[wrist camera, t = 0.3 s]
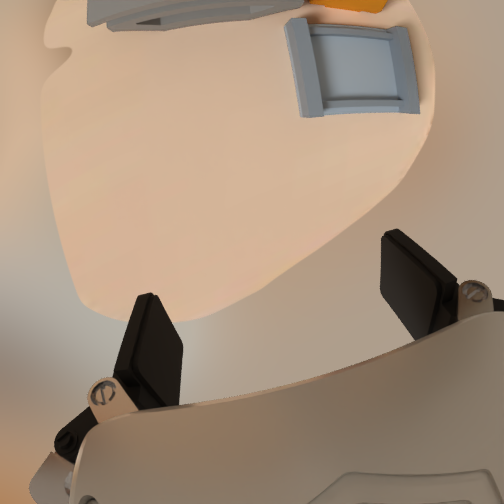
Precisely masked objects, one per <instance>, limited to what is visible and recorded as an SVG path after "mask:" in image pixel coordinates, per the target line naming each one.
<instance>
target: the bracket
mask: <svg viewBox="0 0 504 504" xmlns="http://www.w3.org/2000/svg"><path fill="white" fill-rule="evenodd" d="M309 2H310V4H318V5H325V7H330V8H337V9H344V10H351V11H357V12H360V11H365V12H370V13H375V14H376V13H378V12H380V11H382V9H383V7H384V6H385V4H386V2H387V0H309Z"/></svg>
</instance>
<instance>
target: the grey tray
mask: <svg viewBox="0 0 504 504" xmlns="http://www.w3.org/2000/svg"><path fill="white" fill-rule="evenodd" d="M284 31H285V35H286V40H287V45H288V50H289V54H290V60H291V65H292V70H293V76H294V81H295V87H296V93H297V99H298V105H299V111H300V117H306V118H312V117H323V116H324V115H334V114H350V113H383V112H398V113H409V114H420V106H419V96H418V88H417V80H416V73H415V67H414V61H413V55H412V50H411V45H410V40H409V36H408V31H407V28H404V27H398V26H395V27H392V28H389V29H387V30H384V29H377V28H369V27H360V26H348V25H331V24H307V20H306V18H291V19H290V20H289V21H288V22H287V24H286V25H285V26H284Z"/></svg>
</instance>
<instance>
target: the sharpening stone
mask: <svg viewBox="0 0 504 504" xmlns="http://www.w3.org/2000/svg"><path fill="white" fill-rule="evenodd" d="M303 3H304V0H88V3H87V24H88V25H89V26H91V27H94V26H97V25H100V24H102V23H105V22H107V28H108V29H109V30H111V31H112V32H117V31H167V30H172V29H177V28H183V27H189V26H195V25H202V24H210V23H219V22H229V21H244V20H251V19H255V18H258V17H262V16H266V15H270V14H274V13H278V12H282V11H287V10H291V9H296V8H300V7H301V5H302V4H303Z"/></svg>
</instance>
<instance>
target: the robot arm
mask: <svg viewBox="0 0 504 504" xmlns="http://www.w3.org/2000/svg"><path fill="white" fill-rule="evenodd" d="M380 291H381V294H382V296H383V298H384V299H385V300H386V301H387V303H388V304H389V305H390V307H391V308H392V309H393V311H394V312H395V313H396V315H397V316H398V318H399V319H400V320H401V322H402V323H403V324H404V326H405V327H406V329H407V330H408V331H409V333H410V334H411V336H412V337H413V338H414V340H415V341H413V342H411V343H409V344H407V345H404V346H402V347H399V348H397V349H394V350H392V351H390V352H387V353H384V354H382V355H379V356H377V357H374V358H371V359H368V360H366V361H363V362H360V363H357V364H354V365H351V366H348V367H346V368H342V369H339V370H336V371H333V372H330V373H327V374H323V375H320V376H317V377H313V378H310V379H307V380H303V381H299V382H296V383H292V384H288V385H284V386H280V387H276V388H272V389H267V390H263V391H258V392H254V393H249V394H244V395H239V396H234V397H229V398H223V399H217V400H211V401H204V402H199V403H192V404H184V405H179V397H180V383H181V370H182V357H183V343H182V341H181V339H180V337H179V335H178V333H177V331H176V330H175V328H174V326H173V324H172V322H171V320H170V318H169V316H168V315H167V313H166V311H165V309H164V307H163V305H162V303H161V301H160V299H159V297H158V296H157V295H153V294H152V293H147V294H142V295H139V296H138V297H137V299H136V302H135V305H134V308H133V311H132V314H131V317H130V320H129V323H128V326H127V329H126V332H125V335H124V338H123V341H122V345H121V347H120V351H119V354H118V357H117V361H116V364H115V368H114V373H113V377H106V378H102V379H100V380H98V381H97V382H95V383H94V384H93V385H92V387H91V388H90V390H89V392H88V396H87V400H88V404H89V407H88V408H86V409H85V410H84V411H83V412H82V413H80V414H79V415H78V416H77V417H76V418H75V419H73V420H72V421H71V422H70V423H68V424H67V425H66V426H65V427H64V428H62V429H61V430H60V431H59V432H58V434H57V436H56V438H55V441H54V447H55V450H56V452H55V453H53V452H50V454H49V455H48V457H47V458H46V460H45V461H44V463H43V464H42V465H41V467H40V468H39V470H38V471H37V472H36V474H35V475H34V477H33V478H32V480H31V482H30V486H29V490H30V494H31V496H32V498H33V499H34V500H35V502H36V503H37V504H504V300H500V299H495V298H492V293H491V290H490V289H489V288H488V287H487V286H486V285H485V284H484V283H482V282H480V281H476V280H468V281H464V282H463V283H461V285H459V284H458V283H457V278H456V277H455V276H454V275H453V274H451V273H450V272H449V271H448V270H447V269H446V268H445V267H444V266H443V265H441V264H440V263H439V262H438V261H437V260H436V259H435V258H433V257H432V256H431V255H430V254H429V253H427V252H426V251H425V250H424V249H423V248H422V247H420V246H419V245H418V244H417V243H415V242H414V241H413V240H412V239H411V238H409V237H408V236H407V235H405V234H404V233H403V232H402V231H400V230H399V229H393V230H390V231H386V232H385V233H384V236H382V238H381V277H380Z"/></svg>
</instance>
